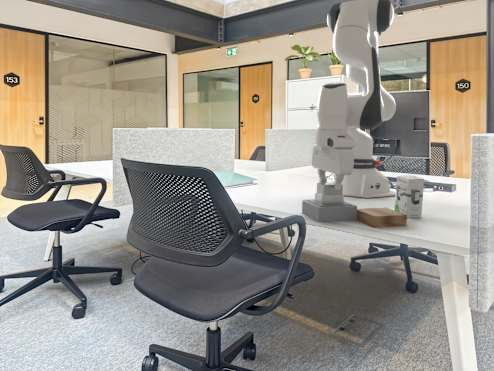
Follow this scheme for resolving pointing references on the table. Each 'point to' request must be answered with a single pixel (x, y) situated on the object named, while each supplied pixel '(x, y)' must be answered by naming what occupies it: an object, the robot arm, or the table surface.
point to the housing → (328, 194)
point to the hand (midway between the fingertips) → (329, 186)
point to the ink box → (409, 195)
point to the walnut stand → (381, 217)
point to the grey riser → (329, 211)
